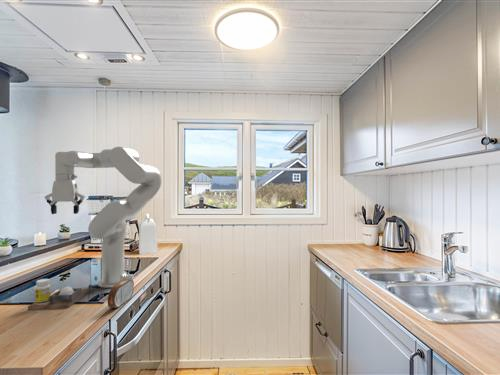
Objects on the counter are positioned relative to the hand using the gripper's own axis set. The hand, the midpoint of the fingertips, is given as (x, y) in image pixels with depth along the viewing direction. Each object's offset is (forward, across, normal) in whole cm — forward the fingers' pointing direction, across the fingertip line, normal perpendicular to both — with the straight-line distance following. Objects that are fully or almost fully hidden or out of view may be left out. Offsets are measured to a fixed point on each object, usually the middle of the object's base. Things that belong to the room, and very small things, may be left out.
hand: (65, 213), depth 136 cm
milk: (+32, -26, -58) cm, 71 cm away
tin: (+32, -35, +32) cm, 57 cm away
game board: (+32, -10, +24) cm, 42 cm away
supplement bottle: (+31, -6, +30) cm, 43 cm away
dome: (+31, -13, +26) cm, 43 cm away
